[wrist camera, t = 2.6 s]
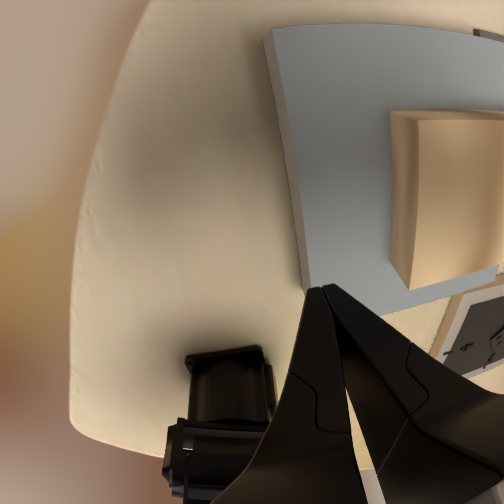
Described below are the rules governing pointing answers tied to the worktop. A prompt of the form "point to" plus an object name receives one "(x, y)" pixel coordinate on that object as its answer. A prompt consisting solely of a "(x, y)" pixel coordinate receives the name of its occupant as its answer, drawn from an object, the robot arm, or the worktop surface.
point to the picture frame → (473, 330)
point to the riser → (366, 141)
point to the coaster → (446, 193)
